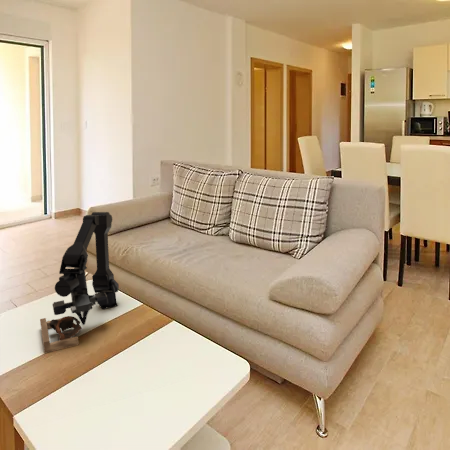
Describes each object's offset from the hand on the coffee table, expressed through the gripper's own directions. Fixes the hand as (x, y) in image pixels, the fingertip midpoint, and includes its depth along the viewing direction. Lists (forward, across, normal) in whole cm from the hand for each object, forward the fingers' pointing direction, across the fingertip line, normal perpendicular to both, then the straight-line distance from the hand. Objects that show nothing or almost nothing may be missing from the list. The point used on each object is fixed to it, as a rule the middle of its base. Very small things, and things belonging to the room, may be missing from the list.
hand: (83, 324), depth 155 cm
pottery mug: (+3, -6, 0) cm, 7 cm away
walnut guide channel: (+2, -8, 0) cm, 8 cm away
